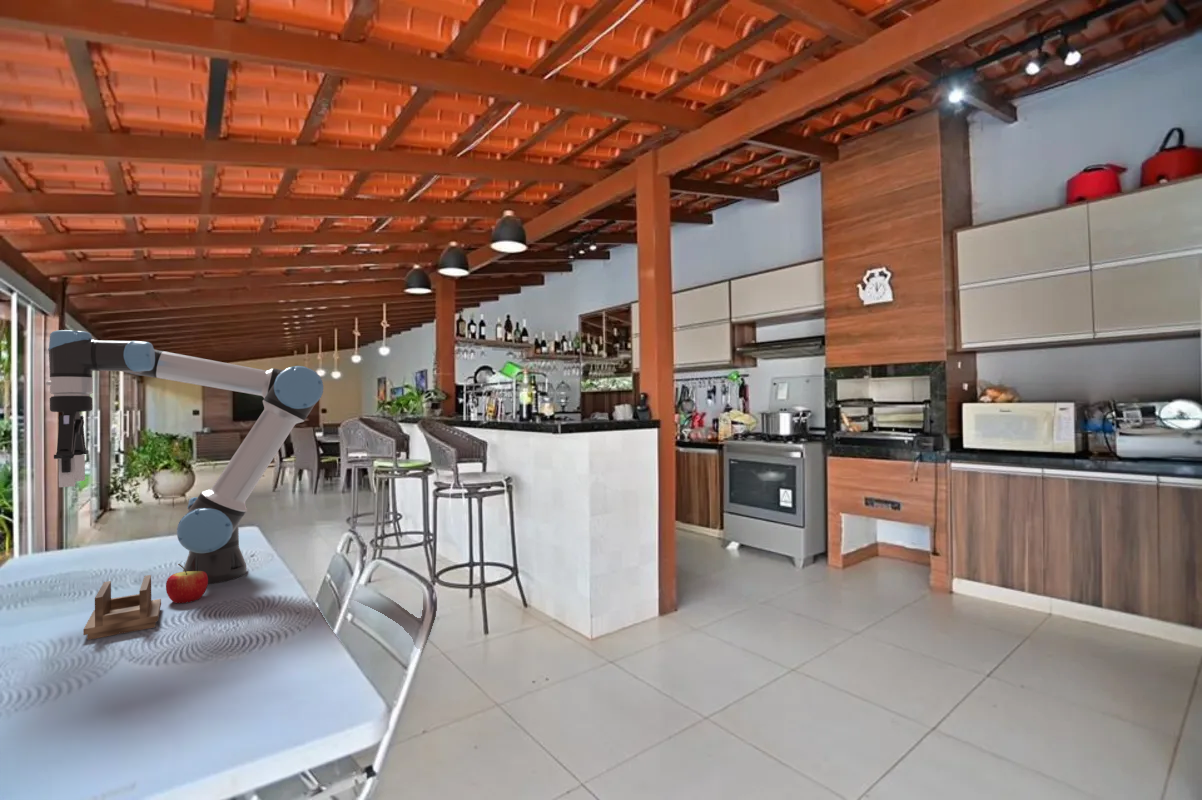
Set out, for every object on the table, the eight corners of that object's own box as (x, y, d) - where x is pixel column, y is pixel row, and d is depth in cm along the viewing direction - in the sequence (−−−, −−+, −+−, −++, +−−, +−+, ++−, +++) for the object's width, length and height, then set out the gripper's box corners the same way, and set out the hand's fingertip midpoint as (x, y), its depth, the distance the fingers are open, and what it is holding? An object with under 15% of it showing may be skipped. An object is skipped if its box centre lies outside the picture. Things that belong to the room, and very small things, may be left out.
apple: (162, 603, 140) (162, 563, 140) (203, 594, 146) (203, 555, 147) (169, 610, 135) (169, 568, 135) (212, 601, 141) (211, 561, 141)
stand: (161, 611, 134) (160, 573, 134) (157, 629, 123) (157, 588, 123) (93, 623, 127) (93, 583, 128) (83, 644, 116) (83, 600, 116)
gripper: (60, 397, 144) (61, 480, 143) (37, 393, 123) (38, 491, 123) (99, 396, 148) (100, 477, 148) (83, 393, 128) (85, 487, 127)
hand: (72, 484), depth 135 cm, fingers open, 13 cm apart
